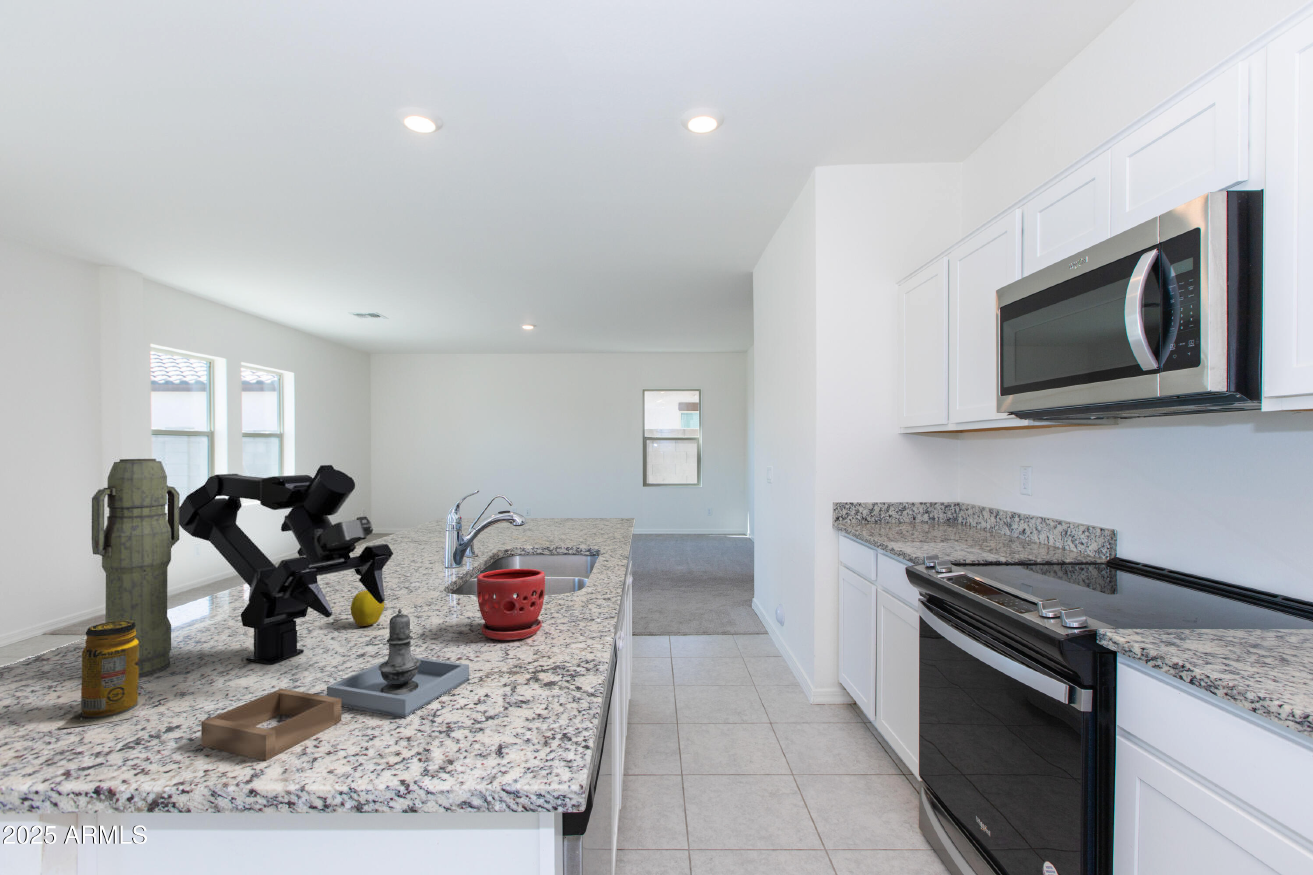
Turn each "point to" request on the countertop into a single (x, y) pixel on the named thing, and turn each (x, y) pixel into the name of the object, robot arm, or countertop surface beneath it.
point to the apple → (366, 609)
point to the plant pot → (511, 602)
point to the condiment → (109, 675)
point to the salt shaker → (399, 658)
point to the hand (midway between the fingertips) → (357, 608)
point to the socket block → (245, 739)
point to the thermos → (138, 553)
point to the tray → (432, 682)
